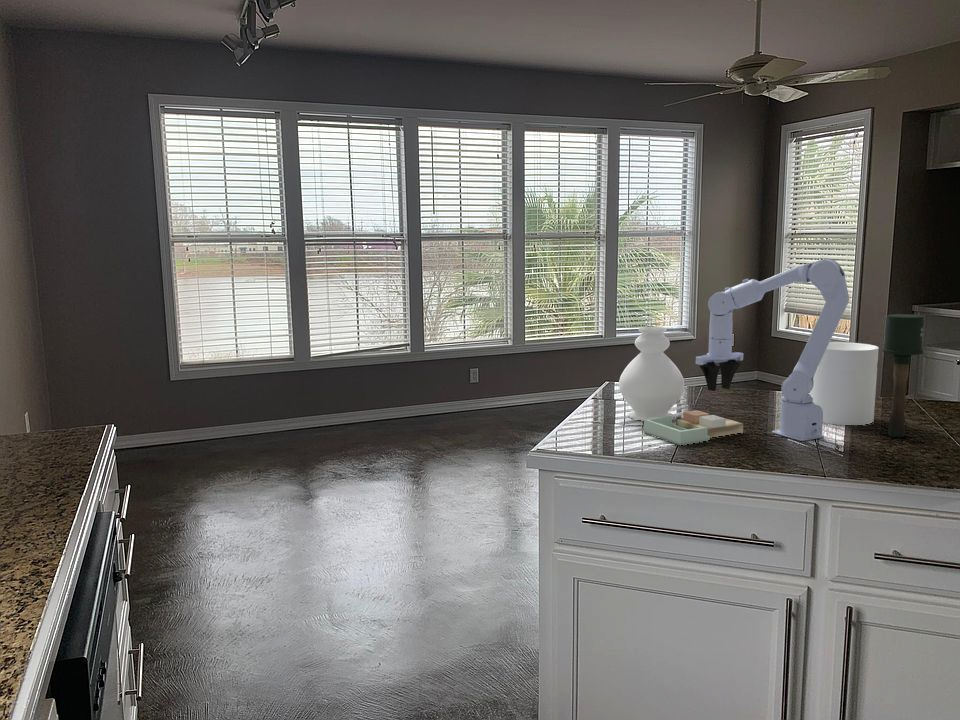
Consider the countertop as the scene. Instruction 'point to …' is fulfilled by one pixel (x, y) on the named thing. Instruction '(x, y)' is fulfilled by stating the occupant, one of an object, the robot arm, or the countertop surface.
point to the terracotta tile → (693, 416)
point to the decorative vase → (651, 377)
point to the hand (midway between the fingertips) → (718, 389)
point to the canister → (846, 383)
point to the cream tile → (712, 421)
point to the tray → (674, 431)
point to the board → (728, 429)
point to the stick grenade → (901, 361)
